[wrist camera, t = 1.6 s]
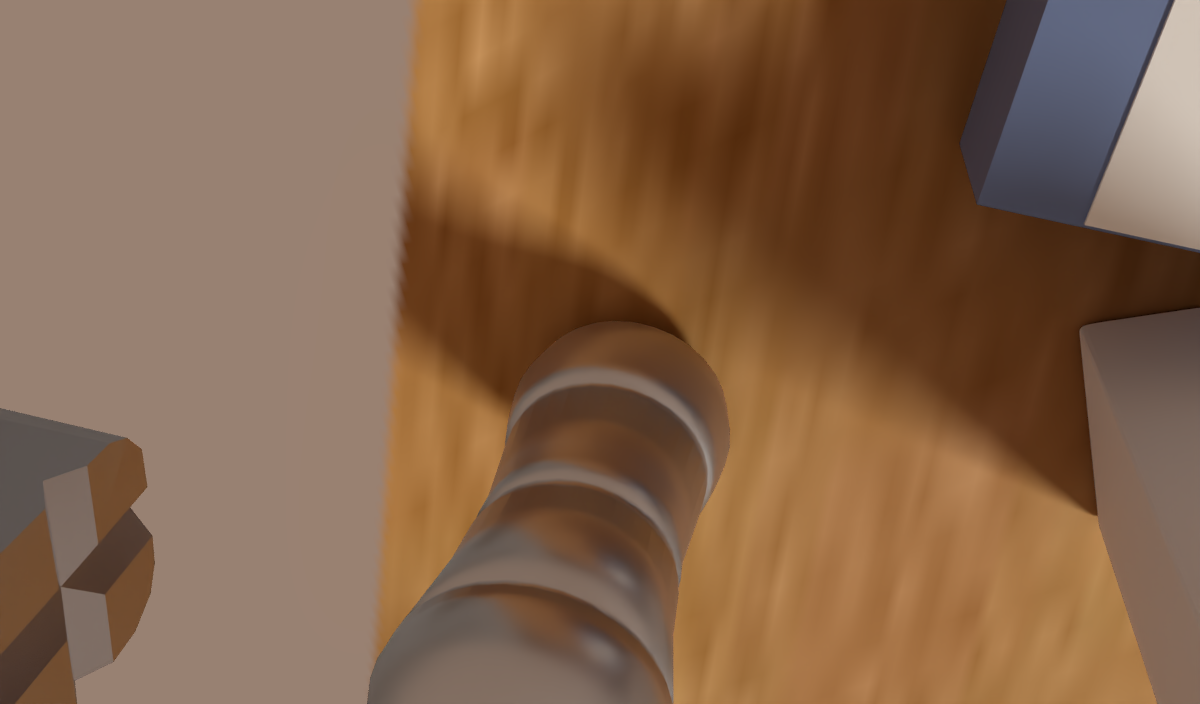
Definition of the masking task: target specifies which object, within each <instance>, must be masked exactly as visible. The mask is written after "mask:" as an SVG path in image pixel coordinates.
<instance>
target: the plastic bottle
mask: <svg viewBox="0 0 1200 704" xmlns="http://www.w3.org/2000/svg"><path fill="white" fill-rule="evenodd" d="M729 448H730V428H729V420H728V413H727V406H726V402H725V397H724V393H723V389H722V387H721V385H720V383H719V381H718V379H717V377H716V374H715V373H714V372H713V370H712V369H711V368H710V366H709V365H708V364H707V362H706V361H705V360H704V358H702V357H701V356H700V355H699V354H698V353H697V352H696V351H695V350H694V349H693V348H692V347H691V346H689V345H688V344H686V343H685V342H683V341H682V340H680V339H678V338H677V337H675V336H674V335H672V334H670V333H667V332H665V331H662V330H660V329H658V328H655V327H652V326H648V325H644V324H640V323H636V322H625V321H607V322H598V323H593V324H589V325H586V326H583V327H579V328H576V329H574V330H573V331H571V332H569V333H567V334H565V335H563V336H562V337H560V338H559V339H558V340H557V341H555V342H554V343H553V344H552V345H551V346H550V347H548V348H547V349H546V350H545V351H544V352H543V353H542V354H541V355H540V356H539V357H538V358H537V359H536V360H535V361H534V362H533V363H532V364H531V366H530V367H529V368H528V370H527V371H526V373H525V374H524V375H523V377H522V378H521V380H520V383H519V385H518V388H517V390H516V393H515V395H514V399H513V403H512V407H511V411H510V414H509V418H508V425H507V432H506V441H505V448H504V451H503V454H502V457H501V460H500V463H499V466H498V469H497V472H496V475H495V478H494V481H493V484H492V487H491V490H490V493H489V496H488V498H487V499H486V501H485V503H484V504H483V506H482V508H481V510H480V511H479V513H478V516H477V518H476V519H475V521H474V522H473V523H472V525H471V527H470V528H469V530H468V532H467V533H466V535H465V537H464V538H463V540H462V542H461V544H460V545H459V547H458V549H457V550H456V552H455V554H454V556H453V557H452V559H451V560H450V561H449V563H448V564H447V565H446V567H445V568H444V569H443V570H442V572H441V573H440V574H439V576H438V577H437V578H436V579H435V581H434V582H433V583H432V585H431V586H430V587H429V588H428V590H427V591H426V592H425V594H424V595H423V596H422V597H421V599H420V600H419V601H418V603H417V604H416V605H415V606H414V608H413V609H412V610H411V612H410V613H409V614H408V615H407V616H406V617H405V619H404V620H403V621H402V623H401V624H400V625H399V627H398V628H397V629H396V631H395V632H394V633H393V635H392V637H391V638H390V640H389V642H388V643H387V645H386V646H385V648H384V649H383V651H382V652H381V654H380V655H379V657H378V658H377V661H376V664H375V666H374V669H373V672H372V674H371V677H370V684H369V692H368V701H367V704H673V632H674V624H675V617H676V609H677V602H678V594H679V591H678V587H679V583H680V579H681V571H682V563H683V560H684V557H685V555H686V552H687V549H688V546H689V543H690V540H691V537H692V535H693V532H694V529H695V526H696V523H697V520H698V517H699V515H700V513H701V511H702V510H703V508H704V506H705V505H706V503H707V502H708V500H709V498H710V496H711V494H712V492H713V491H714V489H715V487H716V484H717V482H718V480H719V478H720V475H721V473H722V471H723V468H724V466H725V463H726V459H727V455H728V452H729Z"/></svg>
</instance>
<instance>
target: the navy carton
mask: <svg viewBox="0 0 1200 704" xmlns="http://www.w3.org/2000/svg"><path fill="white" fill-rule="evenodd" d="M960 148H961V151H962V155H963V158H964V161H965V165H966V168H967V172H968V175H969V179H970V182H971V186H972V189H973V193H974V196H975V199H976V203H977V205H981V206H986V207H991V208H995V209H1000V210H1005V211H1009V212H1014V213H1018V214H1023V215H1028V216H1032V217H1037V218H1041V219H1046V220H1051V221H1055V222H1060V223H1064V224H1069V225H1074V226H1078V227H1083V228H1088V229H1092V230H1097V231H1101V232H1106V233H1111V234H1115V235H1120V236H1124V237H1129V238H1134V239H1138V240H1143V241H1147V242H1152V243H1157V244H1161V245H1166V246H1171V247H1175V248H1180V249H1184V250H1189V251H1194V252H1198V253H1200V0H1007V1H1006V4H1005V7H1004V10H1003V14H1002V17H1001V20H1000V23H999V26H998V29H997V32H996V35H995V38H994V41H993V44H992V47H991V50H990V53H989V56H988V59H987V62H986V65H985V68H984V71H983V74H982V77H981V80H980V83H979V86H978V89H977V92H976V95H975V98H974V101H973V104H972V107H971V110H970V113H969V116H968V119H967V122H966V125H965V128H964V131H963V134H962V137H961V140H960Z"/></svg>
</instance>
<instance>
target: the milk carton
mask: <svg viewBox="0 0 1200 704" xmlns="http://www.w3.org/2000/svg"><path fill="white" fill-rule="evenodd" d="M1079 333H1080V343H1081V353H1082V363H1083V373H1084V383H1085V393H1086V403H1087V413H1088V423H1089V433H1090V443H1091V453H1092V463H1093V473H1094V483H1095V493H1096V502H1097V512H1098V522H1099V527H1100V530H1101V533H1102V536H1103V539H1104V542H1105V545H1106V548H1107V552H1108V555H1109V558H1110V561H1111V564H1112V567H1113V570H1114V573H1115V576H1116V579H1117V582H1118V585H1119V588H1120V591H1121V594H1122V597H1123V600H1124V603H1125V606H1126V609H1127V612H1128V615H1129V618H1130V622H1131V625H1132V628H1133V631H1134V634H1135V637H1136V640H1137V643H1138V646H1139V649H1140V652H1141V655H1142V658H1143V661H1144V664H1145V667H1146V670H1147V673H1148V676H1149V679H1150V682H1151V685H1152V689H1153V692H1154V695H1155V698H1156V701H1157V704H1200V308H1194V309H1187V310H1180V311H1173V312H1167V313H1160V314H1153V315H1146V316H1140V317H1133V318H1126V319H1119V320H1113V321H1106V322H1100V323H1094V324H1089V325H1085V326H1083V327H1081V329H1080V331H1079Z"/></svg>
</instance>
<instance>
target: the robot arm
mask: <svg viewBox="0 0 1200 704" xmlns="http://www.w3.org/2000/svg"><path fill="white" fill-rule="evenodd" d="M146 488H147V481H146V475H145V468H144V461H143V454H142V449H141V448H139V447H138V446H137V445H135V444H134V443H133V442H131V441H130V440H129V439H128V438H125V437H121V436H116V435H112V434H108V433H104V432H99V431H95V430H91V429H86V428H83V427H78V426H74V425H69V424H65V423H61V422H57V421H53V420H48V419H44V418H40V417H35V416H31V415H27V414H22V413H18V412H14V411H10V410H6V409H1V408H0V704H77V699H76V689H75V680H77V679H79V678H81V677H83V676H85V675H87V674H89V673H91V672H94V671H95V670H98V669H99V668H102V667H104V666H106V665H108V664H110V663H112V662H114V660H115V659H116V657H117V656H118V655H119V653H120V652H121V651H122V649H123V648H124V646H125V645H126V643H127V642H128V641H129V639H130V638H131V637H132V635H133V634H134V632H135V631H136V628H137V626H138V623H139V621H140V618H141V616H142V613H143V611H144V608H145V606H146V603H147V601H148V598H149V596H150V593H151V586H152V579H153V571H154V564H155V561H154V550H153V538H152V535H151V533H150V532H149V531H148V530H147V528H146V527H145V526H144V525H143V523H142V522H141V521H140V519H139V518H138V517H137V516H136V514H135V513H134V512H133V510H132V509H131V508H130V507H131V505H132V504H133V503H134V502H135V501H136V500H137V498H138V497H139V496H140V495H141V494H142V493H143V492H144V490H145V489H146Z"/></svg>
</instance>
